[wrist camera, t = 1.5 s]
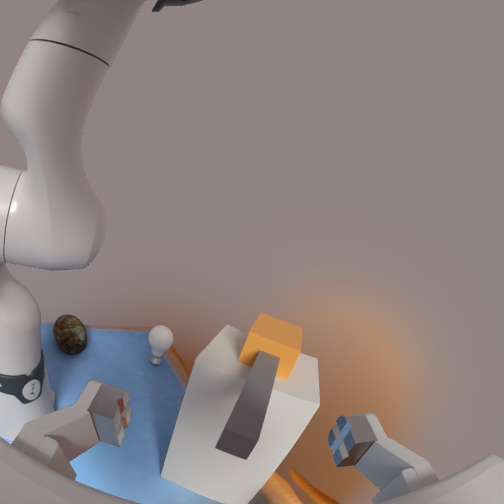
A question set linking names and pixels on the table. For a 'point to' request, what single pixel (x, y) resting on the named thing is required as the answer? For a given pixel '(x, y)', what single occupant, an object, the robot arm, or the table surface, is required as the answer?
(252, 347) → the handle
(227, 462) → the cabinet
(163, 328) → the lightbulb
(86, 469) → the table surface
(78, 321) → the seashell
